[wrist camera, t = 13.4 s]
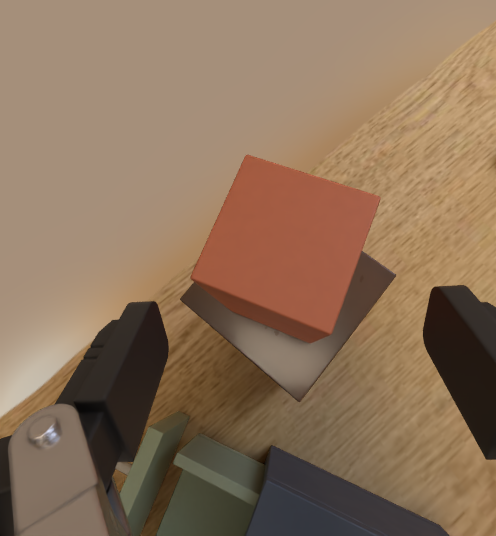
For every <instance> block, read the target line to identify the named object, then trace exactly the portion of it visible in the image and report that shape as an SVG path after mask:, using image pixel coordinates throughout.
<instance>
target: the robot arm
mask: <svg viewBox="0 0 496 536" xmlns="http://www.w3.org/2000/svg"><path fill="white" fill-rule="evenodd" d="M423 339H424V344H425V347H426V350H427V352H428V354H429V356H430V357H431V359H432V361H433V363H434V365H435V367H436V368H437V370H438V372H439V374H440V376H441V378H442V379H443V381H444V383H445V385H446V387H447V389H448V390H449V392H450V394H451V396H452V398H453V400H454V401H455V403H456V405H457V407H458V409H459V411H460V412H461V414H462V416H463V418H464V420H465V422H466V423H467V425H468V427H469V429H470V431H471V433H472V434H473V436H474V438H475V440H476V442H477V444H478V445H479V447H480V449H481V451H482V453H483V454H484V456H485V458H486V460H493V459H496V307H494V306H493V305H491V304H489V303H488V302H480V301H479V300H478V299H477V297H476V296H475V295H474V294H473V293H472V292H471V291H470V289H469V288H468V287H466V286H464V285H457V286H438V287H434V288H433V289H432V291H431V293H430V298H429V303H428V308H427V313H426V317H425V322H424V327H423ZM168 351H169V346H168V339H167V335H166V332H165V328H164V325H163V321H162V318H161V314H160V311H159V308H158V305H157V303H156V302H155V301H150V302H132V303H129V304H128V305H127V306H126V308H125V310H124V312H123V313H122V315H121V317H120V319H119V320H112V321H111V322H110V323H109V324H107V325H106V326H105V327H104V328H103V329H102V330H101V331H100V332H99V333H98V334H97V336H96V337H95V339H94V341H93V342H92V344H91V348H89V349H88V351H87V352H86V354H85V355H84V359H83V360H81V362H80V364H79V365H78V367H77V368H76V370H75V372H74V373H73V375H72V377H71V378H70V380H69V382H68V383H67V385H66V386H65V388H64V390H63V391H62V393H61V395H60V396H59V398H58V399H57V401H56V403H55V404H54V405H51V406H48V407H45V408H43V409H40V410H39V411H37V412H35V413H34V414H32V415H31V416H29V417H28V418H27V419H26V420H24V421H23V422H22V423H21V424H20V425H19V427H18V428H17V429H16V430H15V432H14V433H13V435H11V436H8V437H5V438H1V439H0V536H133V533H132V530H131V527H130V524H129V521H128V518H127V515H126V513H125V510H124V507H123V504H122V501H121V498H120V495H119V492H118V489H117V486H116V483H115V481H114V478H113V477H112V476H113V473H114V471H115V468H116V465H117V462H134V459H135V456H136V453H137V450H138V447H139V444H140V441H141V438H142V435H143V432H144V429H145V426H146V423H147V420H148V416H149V413H150V410H151V407H152V404H153V401H154V398H155V395H156V392H157V389H158V386H159V383H160V380H161V377H162V374H163V371H164V368H165V365H166V362H167V359H168Z"/></svg>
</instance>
